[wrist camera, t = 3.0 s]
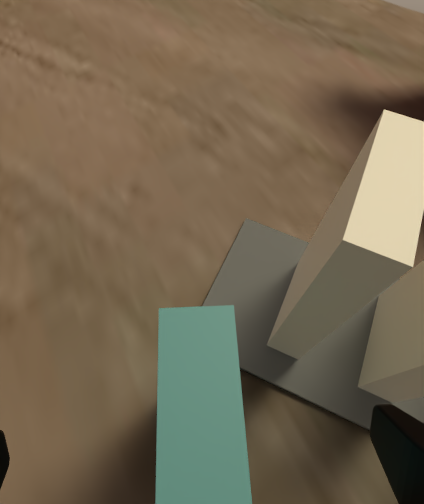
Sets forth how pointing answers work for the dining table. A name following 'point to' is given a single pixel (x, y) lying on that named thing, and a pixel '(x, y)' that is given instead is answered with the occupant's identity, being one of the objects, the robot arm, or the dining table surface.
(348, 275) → the domino
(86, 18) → the dining table surface
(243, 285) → the domino mat
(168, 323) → the teal domino
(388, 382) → the domino
